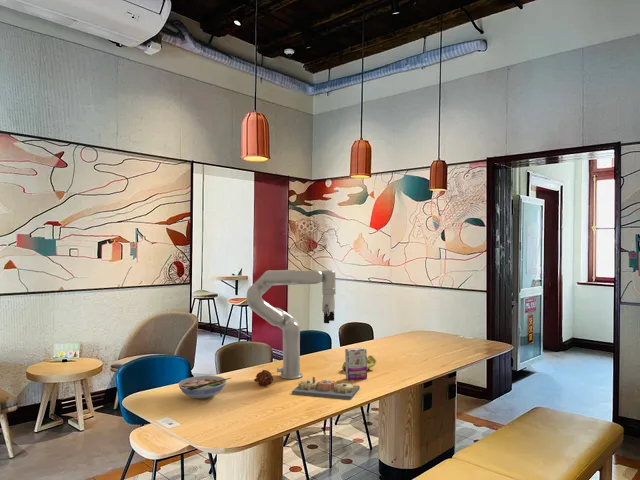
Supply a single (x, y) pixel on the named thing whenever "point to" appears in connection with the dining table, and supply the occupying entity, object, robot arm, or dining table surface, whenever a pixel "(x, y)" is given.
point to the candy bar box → (356, 363)
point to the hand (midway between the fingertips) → (329, 321)
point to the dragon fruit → (264, 378)
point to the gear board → (338, 392)
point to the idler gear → (326, 385)
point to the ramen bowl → (202, 386)
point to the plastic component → (370, 362)
